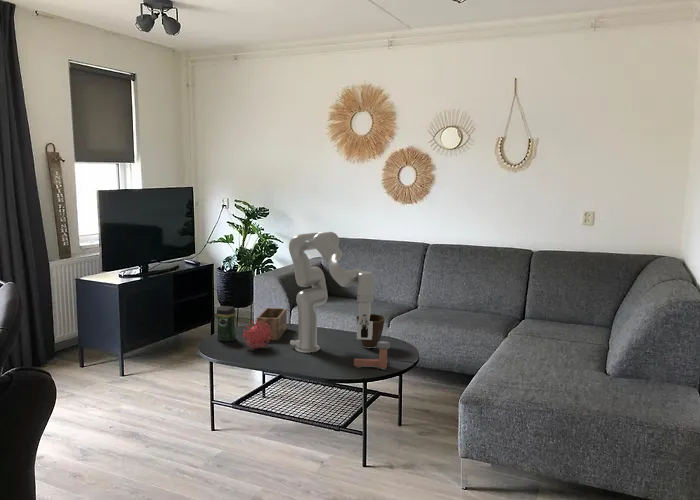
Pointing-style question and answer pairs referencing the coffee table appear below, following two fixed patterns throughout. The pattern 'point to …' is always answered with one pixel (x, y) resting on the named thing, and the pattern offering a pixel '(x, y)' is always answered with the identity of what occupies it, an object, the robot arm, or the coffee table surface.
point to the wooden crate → (274, 321)
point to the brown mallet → (376, 362)
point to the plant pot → (374, 330)
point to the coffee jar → (226, 323)
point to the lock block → (369, 327)
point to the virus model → (257, 334)
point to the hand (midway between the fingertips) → (364, 334)
